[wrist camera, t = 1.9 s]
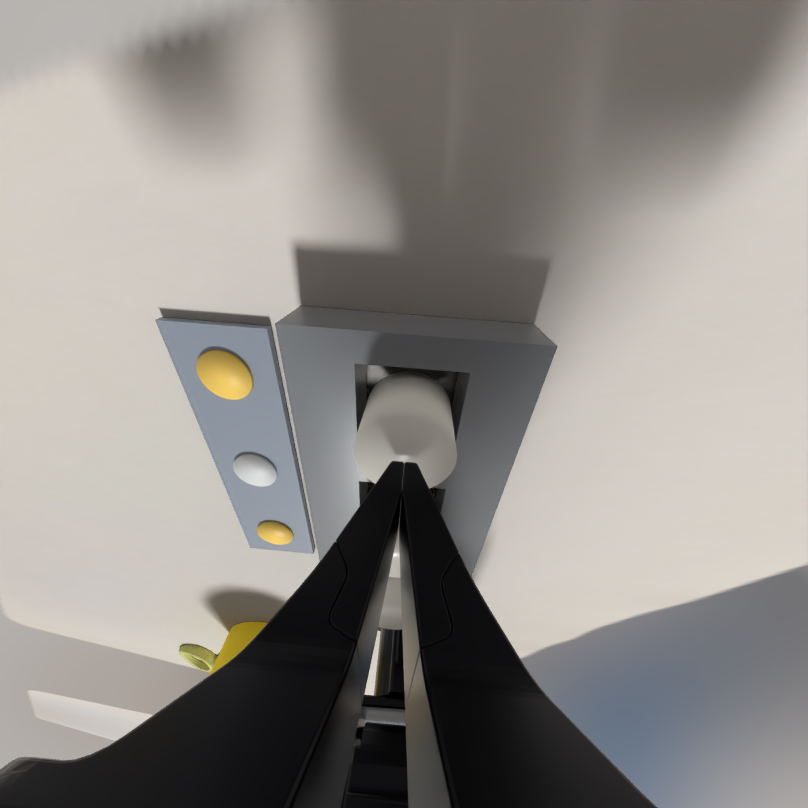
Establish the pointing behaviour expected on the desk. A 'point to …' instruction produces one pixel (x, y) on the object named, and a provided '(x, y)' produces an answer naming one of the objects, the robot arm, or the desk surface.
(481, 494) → the button panel
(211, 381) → the pattern card
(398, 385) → the button
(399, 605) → the button
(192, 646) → the key
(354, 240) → the desk surface
